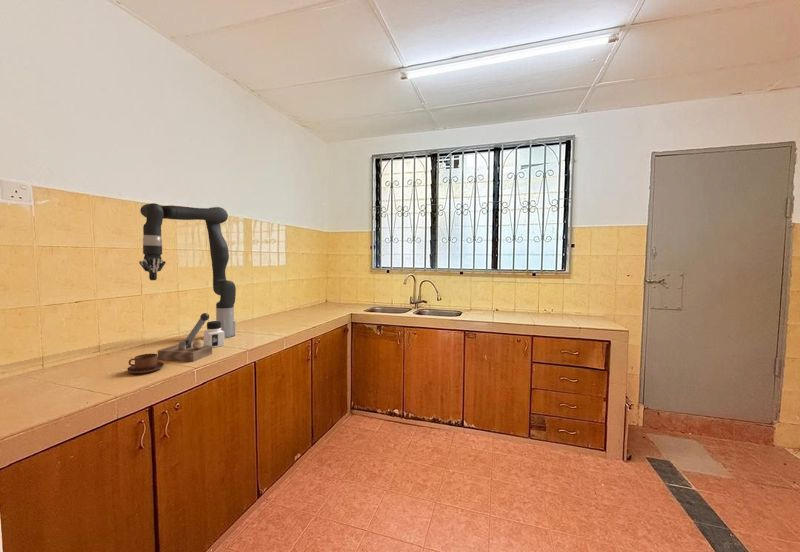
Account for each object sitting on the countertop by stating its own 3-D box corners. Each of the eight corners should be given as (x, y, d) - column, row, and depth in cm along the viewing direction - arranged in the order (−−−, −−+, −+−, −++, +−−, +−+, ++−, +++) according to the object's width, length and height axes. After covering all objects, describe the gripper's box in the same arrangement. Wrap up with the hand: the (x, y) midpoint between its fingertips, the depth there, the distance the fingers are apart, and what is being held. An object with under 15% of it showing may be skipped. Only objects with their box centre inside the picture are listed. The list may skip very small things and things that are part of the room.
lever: (178, 345, 152) (201, 312, 150) (184, 343, 156) (206, 310, 153) (184, 350, 152) (207, 317, 150) (189, 348, 156) (212, 315, 153)
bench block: (157, 359, 149) (157, 340, 149) (178, 351, 161) (178, 334, 161) (193, 361, 147) (193, 343, 147) (212, 353, 159) (212, 336, 158)
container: (224, 345, 174) (224, 321, 173) (208, 348, 168) (208, 323, 167) (219, 342, 179) (219, 319, 178) (203, 345, 173) (203, 321, 173)
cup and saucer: (124, 378, 126) (124, 362, 126) (130, 368, 137) (129, 354, 136) (163, 372, 133) (162, 357, 133) (165, 364, 143) (165, 350, 143)
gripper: (147, 244, 153) (148, 281, 154) (170, 245, 166) (171, 279, 167) (133, 244, 154) (133, 280, 155) (157, 245, 167) (157, 279, 168)
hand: (153, 280), depth 161 cm, fingers closed
